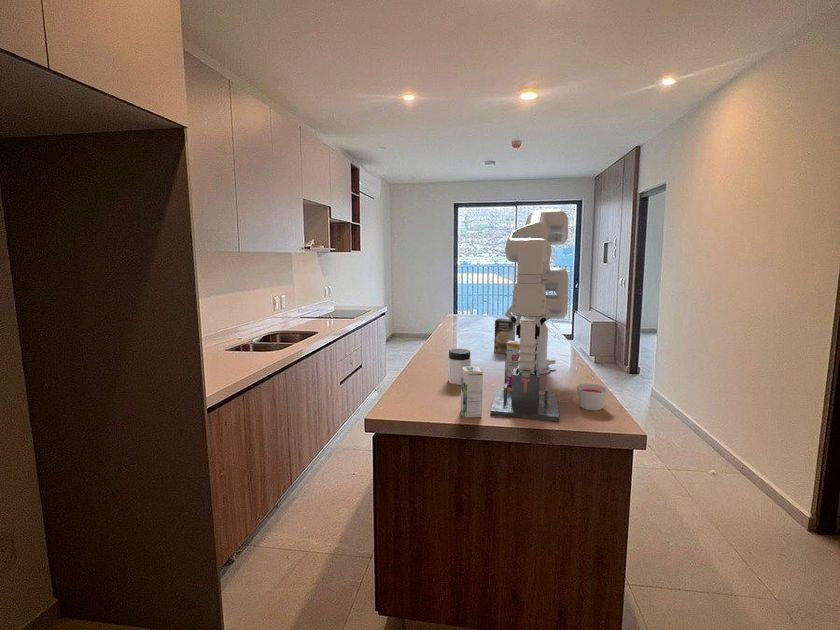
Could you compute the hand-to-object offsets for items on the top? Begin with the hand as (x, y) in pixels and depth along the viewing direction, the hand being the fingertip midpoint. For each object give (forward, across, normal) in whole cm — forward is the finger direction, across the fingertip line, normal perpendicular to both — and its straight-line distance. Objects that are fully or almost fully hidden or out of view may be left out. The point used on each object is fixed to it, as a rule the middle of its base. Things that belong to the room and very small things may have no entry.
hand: (527, 337), depth 135 cm
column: (+17, 0, 0) cm, 17 cm away
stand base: (+23, 0, 0) cm, 23 cm away
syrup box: (+23, +16, +11) cm, 30 cm away
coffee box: (+23, +12, -72) cm, 77 cm away
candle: (+23, -20, -5) cm, 31 cm away
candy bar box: (+23, +2, -21) cm, 32 cm away
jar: (+23, +25, -21) cm, 40 cm away
